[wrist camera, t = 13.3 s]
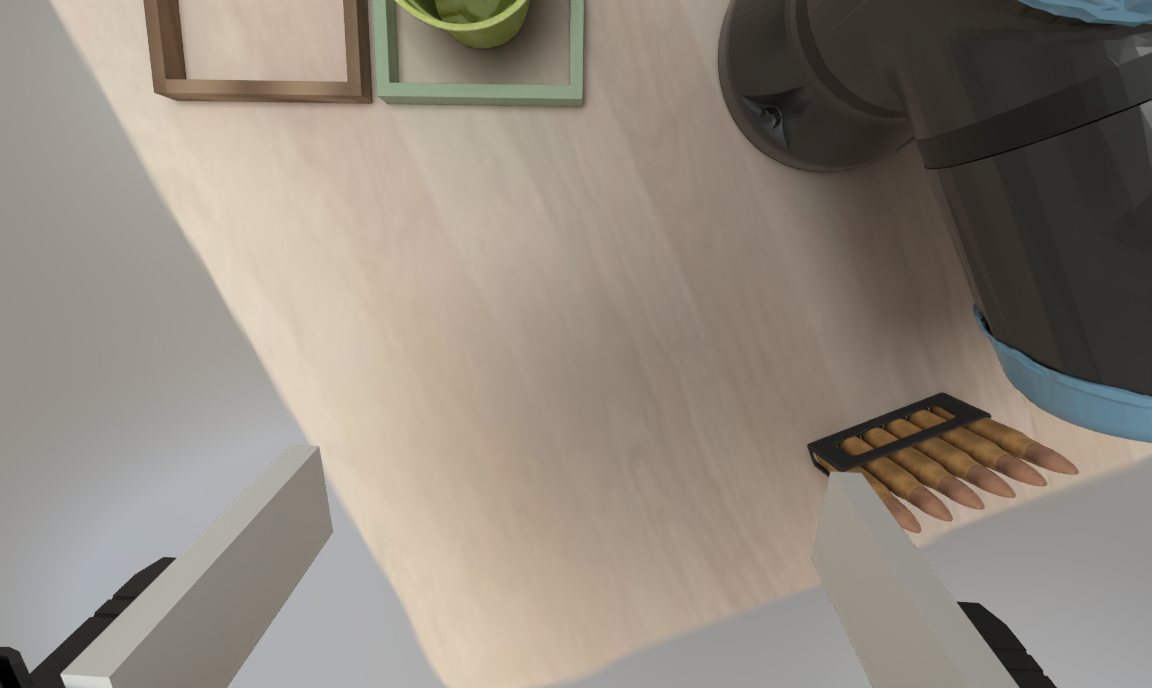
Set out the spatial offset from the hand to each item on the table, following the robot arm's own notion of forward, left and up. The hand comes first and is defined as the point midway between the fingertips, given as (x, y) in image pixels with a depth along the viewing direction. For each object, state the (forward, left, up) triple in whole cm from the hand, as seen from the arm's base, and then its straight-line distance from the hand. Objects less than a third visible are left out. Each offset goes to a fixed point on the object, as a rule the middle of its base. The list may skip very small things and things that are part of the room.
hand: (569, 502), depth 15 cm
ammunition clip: (-23, +7, -27) cm, 36 cm away
